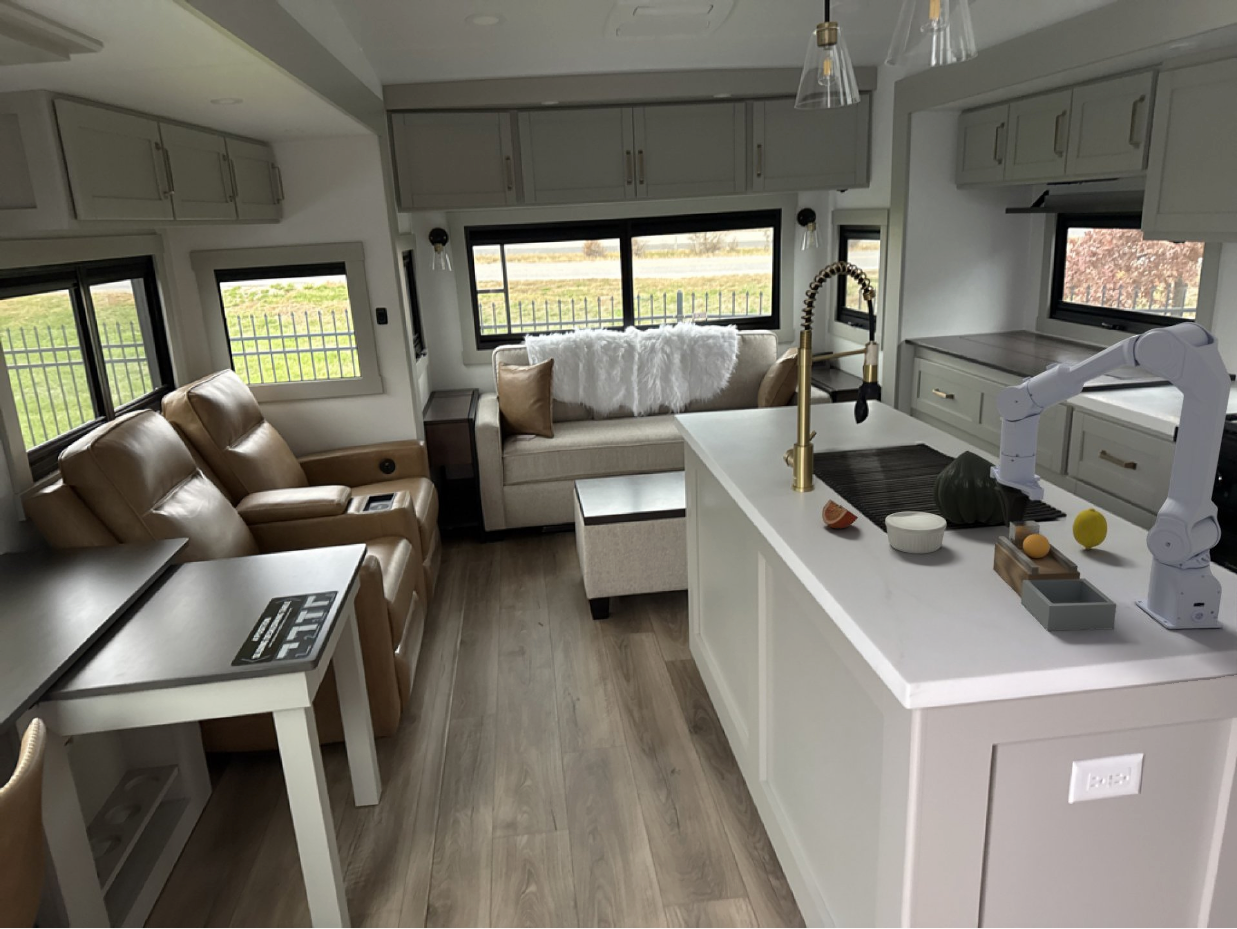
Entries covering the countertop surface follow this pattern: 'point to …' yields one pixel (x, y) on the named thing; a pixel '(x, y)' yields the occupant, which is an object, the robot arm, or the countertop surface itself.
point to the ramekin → (915, 531)
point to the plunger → (1022, 531)
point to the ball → (1036, 545)
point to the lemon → (1090, 528)
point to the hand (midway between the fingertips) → (1012, 526)
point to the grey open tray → (1068, 604)
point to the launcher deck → (1030, 565)
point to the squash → (968, 491)
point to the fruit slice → (837, 515)
